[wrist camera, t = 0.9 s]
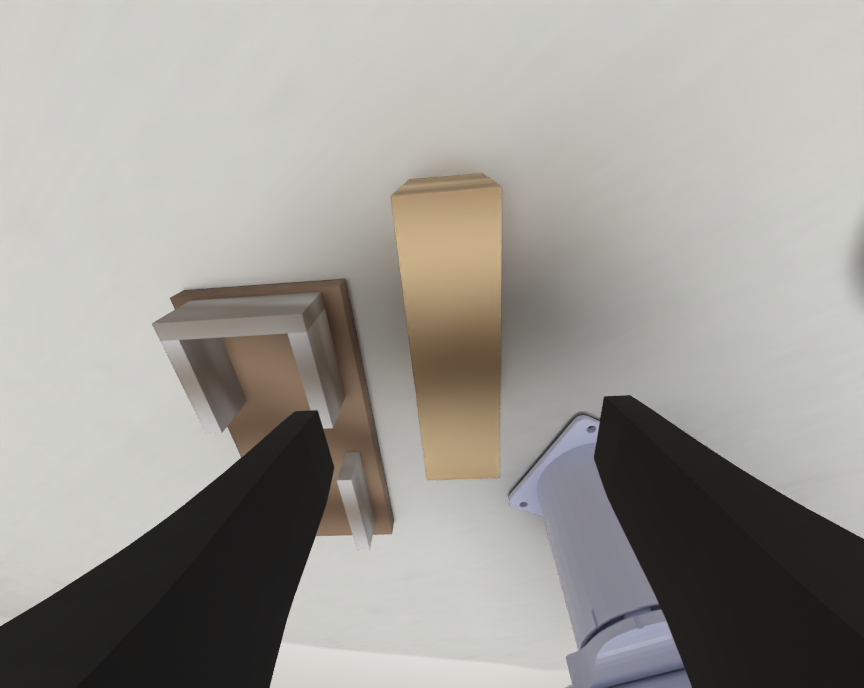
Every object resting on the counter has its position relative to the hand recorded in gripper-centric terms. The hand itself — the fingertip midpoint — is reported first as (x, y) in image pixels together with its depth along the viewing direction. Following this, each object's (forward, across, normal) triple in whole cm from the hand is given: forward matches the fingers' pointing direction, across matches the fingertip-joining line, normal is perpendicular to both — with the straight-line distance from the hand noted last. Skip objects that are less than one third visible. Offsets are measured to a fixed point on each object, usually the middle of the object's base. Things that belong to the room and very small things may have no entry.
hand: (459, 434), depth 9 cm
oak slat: (+9, 0, 0) cm, 9 cm away
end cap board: (+9, +9, +7) cm, 15 cm away
